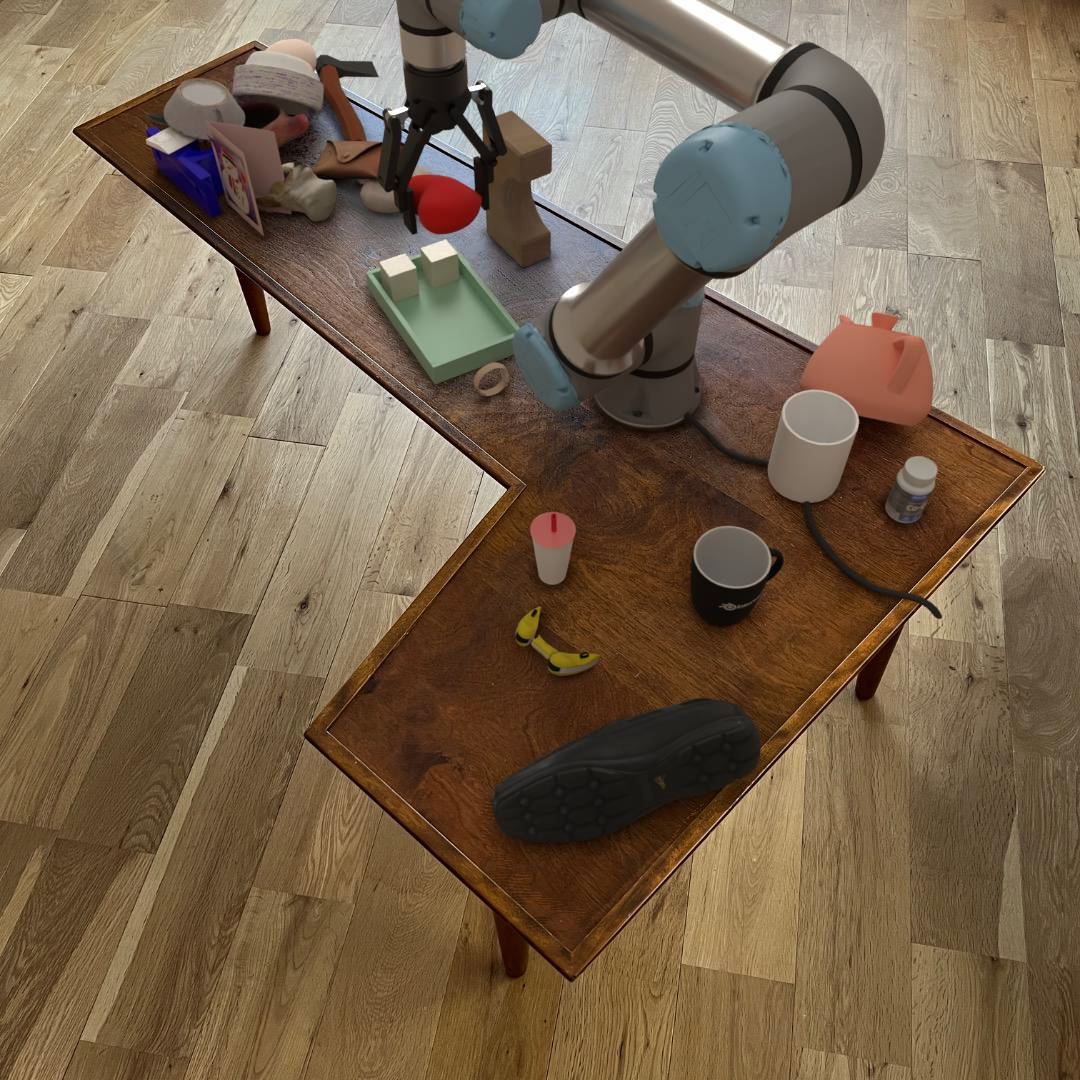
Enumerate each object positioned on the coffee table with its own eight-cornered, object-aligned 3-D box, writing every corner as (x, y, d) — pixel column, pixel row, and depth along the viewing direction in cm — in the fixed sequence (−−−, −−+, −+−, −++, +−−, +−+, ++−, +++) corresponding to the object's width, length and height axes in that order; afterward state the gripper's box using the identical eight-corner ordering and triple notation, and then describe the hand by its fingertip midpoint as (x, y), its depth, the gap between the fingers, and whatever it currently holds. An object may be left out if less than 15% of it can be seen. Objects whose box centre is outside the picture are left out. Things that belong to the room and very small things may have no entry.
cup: (561, 597, 133) (562, 538, 124) (522, 580, 135) (521, 520, 125) (581, 566, 136) (584, 506, 126) (543, 549, 138) (544, 488, 128)
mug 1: (705, 646, 129) (716, 598, 121) (670, 589, 134) (679, 539, 126) (793, 614, 132) (810, 564, 124) (756, 558, 137) (770, 508, 129)
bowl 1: (145, 95, 173) (147, 122, 177) (219, 125, 173) (219, 151, 177) (188, 59, 181) (189, 86, 185) (259, 88, 181) (258, 114, 185)
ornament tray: (525, 350, 160) (524, 333, 157) (434, 384, 155) (433, 367, 153) (453, 259, 172) (452, 242, 169) (368, 289, 168) (365, 272, 165)
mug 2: (785, 513, 141) (803, 453, 132) (746, 447, 148) (760, 385, 139) (851, 495, 143) (873, 434, 133) (809, 431, 150) (827, 369, 140)
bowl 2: (224, 183, 184) (213, 140, 177) (210, 142, 191) (198, 99, 185) (317, 162, 187) (310, 120, 181) (300, 123, 194) (292, 81, 188)
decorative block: (552, 257, 172) (553, 144, 156) (521, 270, 170) (520, 157, 155) (515, 220, 178) (513, 108, 162) (485, 232, 176) (480, 119, 160)
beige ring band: (510, 392, 154) (509, 366, 150) (480, 404, 153) (478, 378, 149) (501, 380, 156) (501, 354, 152) (471, 391, 154) (470, 366, 150)
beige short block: (419, 294, 166) (416, 267, 162) (393, 303, 165) (389, 277, 161) (408, 279, 168) (405, 252, 164) (382, 288, 167) (378, 261, 163)
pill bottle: (902, 530, 140) (920, 487, 133) (876, 505, 142) (893, 462, 135) (929, 514, 141) (949, 472, 134) (903, 490, 144) (921, 447, 137)
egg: (241, 59, 198) (292, 24, 199) (268, 102, 203) (317, 69, 205) (255, 63, 191) (308, 27, 193) (282, 108, 196) (333, 73, 198)
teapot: (766, 393, 157) (789, 299, 154) (874, 415, 160) (898, 323, 157) (834, 411, 133) (863, 301, 130) (959, 438, 135) (990, 330, 133)
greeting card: (222, 205, 180) (200, 122, 168) (261, 187, 183) (242, 105, 171) (259, 238, 175) (238, 155, 163) (298, 220, 178) (281, 137, 166)
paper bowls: (340, 76, 194) (334, 122, 195) (261, 67, 197) (256, 112, 198) (305, 48, 179) (299, 99, 180) (220, 39, 182) (215, 89, 183)
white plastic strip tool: (235, 118, 184) (234, 112, 183) (168, 155, 175) (167, 149, 174) (213, 108, 185) (212, 102, 184) (145, 144, 177) (144, 137, 176)
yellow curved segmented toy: (499, 640, 128) (506, 618, 126) (534, 621, 133) (542, 600, 131) (559, 693, 124) (568, 671, 122) (594, 672, 128) (603, 651, 126)
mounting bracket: (145, 130, 181) (177, 116, 183) (157, 168, 187) (189, 154, 189) (200, 179, 173) (233, 164, 175) (211, 217, 178) (243, 202, 181)
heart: (462, 197, 150) (394, 207, 146) (464, 159, 147) (394, 167, 143) (499, 236, 143) (429, 247, 139) (502, 196, 139) (430, 207, 135)
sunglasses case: (301, 177, 183) (303, 135, 182) (331, 183, 189) (333, 142, 187) (383, 179, 174) (385, 134, 172) (411, 184, 179) (413, 142, 178)
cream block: (459, 280, 168) (457, 253, 164) (433, 289, 167) (431, 262, 163) (448, 265, 170) (446, 238, 166) (422, 274, 169) (419, 247, 165)
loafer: (506, 869, 110) (489, 816, 120) (774, 800, 115) (737, 754, 124) (489, 781, 107) (473, 733, 116) (766, 714, 111) (729, 673, 121)
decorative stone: (372, 228, 176) (368, 202, 172) (355, 197, 181) (350, 171, 177) (446, 209, 180) (444, 182, 176) (427, 179, 184) (425, 153, 180)
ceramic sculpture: (313, 184, 168) (235, 159, 172) (316, 236, 174) (241, 211, 178) (353, 161, 175) (277, 137, 180) (355, 212, 181) (282, 188, 185)
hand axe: (409, 156, 191) (371, 70, 209) (411, 138, 189) (372, 52, 206) (342, 157, 187) (308, 69, 205) (343, 139, 185) (309, 51, 202)
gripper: (504, 17, 132) (508, 177, 150) (332, 65, 126) (357, 226, 144) (534, 46, 129) (534, 206, 146) (358, 97, 122) (380, 258, 140)
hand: (446, 216), depth 145 cm, fingers closed on heart, 10 cm apart
